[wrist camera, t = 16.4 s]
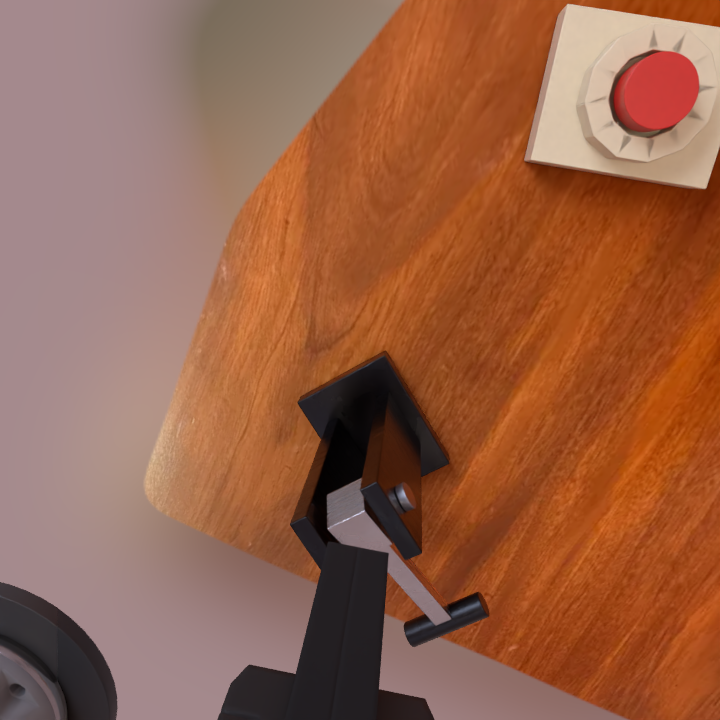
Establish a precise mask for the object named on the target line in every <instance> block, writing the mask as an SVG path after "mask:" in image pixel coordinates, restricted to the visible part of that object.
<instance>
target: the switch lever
mask: <svg viewBox="0 0 720 720" xmlns="http://www.w3.org/2000/svg"><path fill="white" fill-rule="evenodd" d="M361 481H362V478H360V479H358V480H356V481H354V482H352V483H350V484H348V485H346V486H344V487H342V488H340V489H338V490H336V491H334V492H332V493H330V494H328V495H327V530H328V531H329V532H330V533H331V534H332V535H333V536H334V537H335V538H336V539H337V540H338V542H339V543H340V544H345V545H350V546H355V547H360V548H365V549H371V550H376V551H381V552H386V553H389V557H388V571H387V572H388V573H389V574H390V575H391V576H392V577H393V578H394V580H395V581H396V582H397V583H398V584H399V585H400V586H401V587H402V589H403V590H404V591H405V592H406V593H407V594H408V595H409V596H410V598H411V599H412V600H413V601H414V602H415V603H416V604H417V605H418V607H419V608H420V609H421V610H422V611H423V612H424V613H425V614H424V615H422V616H419V617H417V618H414V619H412V620H410V621H407V622H405V624H404V631H405V635H406V637H407V640H408V642H409V643H410V645H411V646H412V647H416V646H418V645H421V644H423V643H425V642H428V641H430V640H433V639H435V638H438V637H440V636H443V635H445V634H447V633H450V632H452V631H455V630H457V629H460V628H462V627H465V626H467V625H469V624H472V623H474V622H477V621H479V620H482V619H484V618H487V617H489V609H488V606H487V604H486V601H485V599H484V597H483V596H482V594H481V593H480V592H476V593H474V594H471V595H469V596H467V597H464V598H462V599H459V600H457V601H455V602H452V603H450V604H448V603H447V602H446V601H445V600H444V598H443V597H442V596H441V595H440V594H439V592H438V591H437V590H436V589H435V588H434V586H433V585H432V584H431V583H430V582H429V581H428V579H427V578H426V577H425V576H424V575H423V573H422V572H421V571H420V570H419V569H418V567H417V566H416V565H415V564H414V563H413V562H412V560H411V559H408V560H404V558H403V557H402V555H401V554H400V552H399V551H398V549H397V547H396V546H395V544H394V543H393V541H392V540H391V538H390V537H389V535H388V534H387V532H386V530H385V529H384V527H383V526H382V524H381V523H380V521H379V520H378V518H377V517H376V515H375V513H374V512H373V510H372V509H371V507H370V506H369V504H368V503H367V501H366V500H365V498H364V496H363V495H362V493H361V492H360V487H361Z"/></svg>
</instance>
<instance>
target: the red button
mask: <svg viewBox="0 0 720 720" xmlns="http://www.w3.org/2000/svg"><path fill="white" fill-rule="evenodd" d="M698 93H699V76H698V73H697V70H696V68H695V66H694V65H693V63H692V62H691V61H690V60H689V59H688V58H687V57H685V56H684V55H682V54H679V53H677V52H671V51H663V52H658V53H654V54H652V55H650V56H648V57H646V58H644V59H642V60H640V61H638V62H636V63H635V64H633V65H632V66H631V67H629V68H628V69H627V70H626V71H625V72H624V73H623V75H622V76H621V78H620V79H619V81H618V83H617V85H616V88H615V92H614V99H613V101H614V109H615V112H616V115H617V117H618V118H619V120H620V121H621V122H622V123H623V124H624V125H625V126H626V127H628V128H629V129H631V130H634V131H637V132H651V131H656V130H661V129H665V128H668V127H671V126H673V125H675V124H677V123H678V122H680V121H681V120H682V119H684V118H685V117H686V116H687V114H688V113H689V112H690V111H691V109H692V108H693V106H694V104H695V102H696V100H697V97H698Z"/></svg>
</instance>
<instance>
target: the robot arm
mask: <svg viewBox="0 0 720 720" xmlns="http://www.w3.org/2000/svg"><path fill="white" fill-rule="evenodd" d="M388 557H389V553H386V552H381V551H376V550H371V549H365V548H360V547H355V546H350V545H345V544H340V543H335V542H329V541H328V544H327V549H326V553H325V557H324V561H323V565H322V569H321V573H320V577H319V581H318V585H317V589H316V594H315V598H314V602H313V606H312V610H311V614H310V618H309V622H308V626H307V630H306V635H305V639H304V643H303V647H302V651H301V655H300V659H299V663H298V667H297V671H296V674H293V673H287V672H283V671H277V670H273V669H268V668H263V667H258V666H253V665H248V666H247V667H246V668H245V669H244V670H243V671H242V672H241V673H240V674H239V676H238V677H237V678H236V679H235V680H234V681H233V682H232V683H231V685H230V687H229V690H228V693H227V695H226V698H225V701H224V703H223V706H222V709H221V713H220V714H219V717H218V720H434V718H433V715H432V713H431V711H430V709H429V706H428V704H427V702H426V700H425V699H424V698H419V697H414V696H409V695H404V694H399V693H394V692H389V691H384V690H379V678H380V665H381V651H382V638H383V624H384V611H385V598H386V584H387V571H388ZM67 717H68V710H67V703H66V699H65V695H64V692H63V690H62V687H61V686H60V684H59V682H58V680H57V678H56V677H55V675H54V674H53V673H52V671H51V670H50V669H49V667H48V666H47V665H46V664H45V663H44V662H43V661H42V660H41V659H40V658H39V657H38V656H37V655H35V654H34V653H33V652H32V651H30V650H29V649H27V648H26V647H25V646H23V645H21V644H20V643H18V642H16V641H14V640H12V639H10V638H8V637H6V636H4V635H1V634H0V720H67Z"/></svg>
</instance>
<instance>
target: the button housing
mask: <svg viewBox="0 0 720 720" xmlns="http://www.w3.org/2000/svg"><path fill="white" fill-rule="evenodd" d="M663 51H671V52H677V53H679V54H682V55H684V56H685V57H687V58H688V59H689V60H690V61H691V62H692V63H693V65H694V66H695V68H696V70H697V73H698V76H699V93H698V97H697V100H696V102H695V104H694V106H693V108H692V109H691V111H690V112H689V113H688V114H687V116H686V117H685V118H684V119H682V120H681V121H680V122H678V123H677V124H675V125H673V126H671V127H668V128H665V129H661V130H656V131H651V132H637V131H634V130H631V129H629V128H628V127H626V126H625V125H624V124H623V123H622V122H621V121H620V120H619V118H618V117H617V115H616V112H615V109H614V101H613V99H614V92H615V88H616V85H617V83H618V81H619V79H620V78H621V76H622V75H623V73H624V72H625V71H626V70H627V69H628V68H629V67H631V66H632V65H633V64H635V63H636V62H638V61H640V60H642V59H644V58H646V57H648V56H650V55H652V54H654V53H658V52H663ZM719 147H720V27H714V26H708V25H701V24H695V23H688V22H682V21H675V20H669V19H663V18H656V17H650V16H643V15H637V14H630V13H624V12H617V11H611V10H604V9H598V8H591V7H585V6H579V5H572V4H567V5H566V6H565V8H564V9H563V10H562V11H561V12H560V13H559V15H558V17H557V22H556V26H555V30H554V34H553V39H552V43H551V47H550V52H549V56H548V60H547V65H546V69H545V73H544V77H543V82H542V86H541V90H540V95H539V99H538V103H537V108H536V112H535V116H534V120H533V125H532V129H531V133H530V138H529V142H528V146H527V151H526V155H525V159H524V161H525V162H531V163H537V164H543V165H549V166H555V167H561V168H567V169H573V170H579V171H585V172H591V173H597V174H603V175H609V176H615V177H621V178H627V179H633V180H639V181H645V182H651V183H657V184H663V185H669V186H675V187H681V188H687V189H706V187H707V184H708V181H709V178H710V175H711V172H712V169H713V166H714V163H715V160H716V157H717V153H718V150H719Z"/></svg>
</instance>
